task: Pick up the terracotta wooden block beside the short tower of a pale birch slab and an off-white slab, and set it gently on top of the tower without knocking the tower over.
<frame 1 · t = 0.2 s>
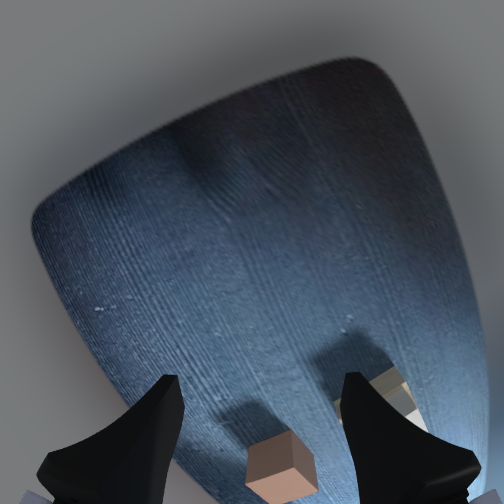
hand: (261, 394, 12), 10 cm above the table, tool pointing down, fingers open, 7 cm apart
terracotta block: (281, 451, 25), on the table
tower top slab: (386, 421, 21), point 3 cm above the table, touching tower base slab
tower base slab: (375, 403, 24), on the table, touching tower top slab
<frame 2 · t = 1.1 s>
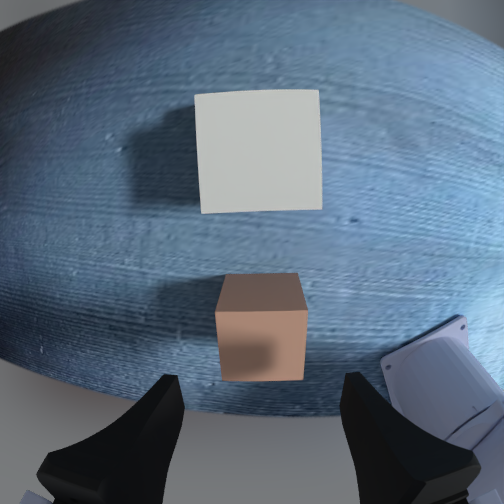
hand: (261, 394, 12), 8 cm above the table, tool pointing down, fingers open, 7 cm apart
terracotta block: (262, 305, 20), on the table
tower top slab: (259, 150, 15), point 3 cm above the table, touching tower base slab
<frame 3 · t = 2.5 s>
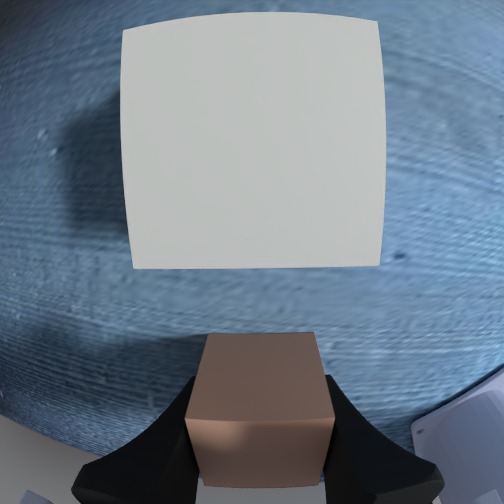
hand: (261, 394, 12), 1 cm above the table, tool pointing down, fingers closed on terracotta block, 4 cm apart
terracotta block: (261, 373, 14), on the table, touching gripper
tower top slab: (255, 141, 8), point 3 cm above the table, touching tower base slab
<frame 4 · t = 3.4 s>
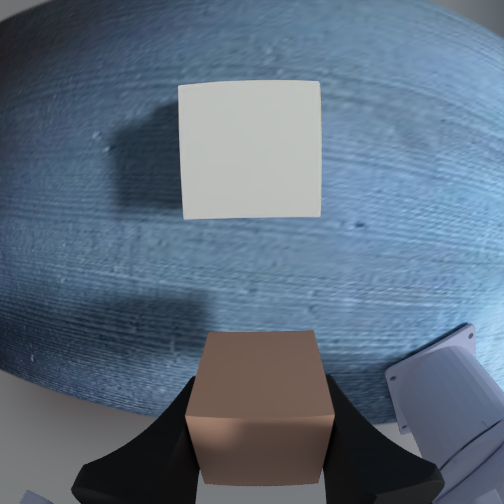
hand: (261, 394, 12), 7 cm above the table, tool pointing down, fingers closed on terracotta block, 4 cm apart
terracotta block: (261, 372, 14), point 5 cm above the table, touching gripper
tower top slab: (251, 149, 13), point 3 cm above the table, touching tower base slab
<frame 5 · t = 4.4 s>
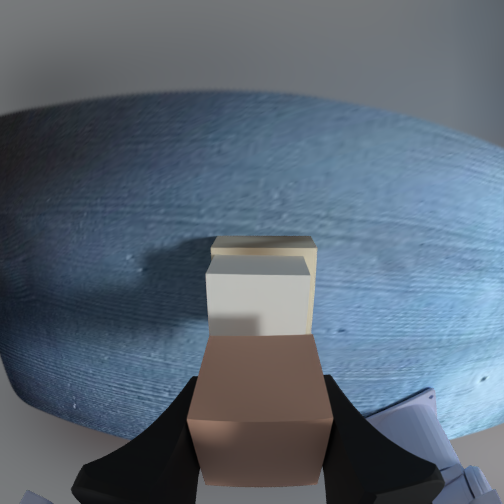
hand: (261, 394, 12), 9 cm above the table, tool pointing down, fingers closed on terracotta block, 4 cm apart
terracotta block: (261, 374, 14), point 8 cm above the table, touching gripper
tower top slab: (258, 295, 18), point 3 cm above the table, touching tower base slab
tower base slab: (263, 277, 21), on the table, touching tower top slab
when the fingers open (8 cm above the table, at t = 5.4 s): terracotta block drops 1 cm, resting on tower top slab.
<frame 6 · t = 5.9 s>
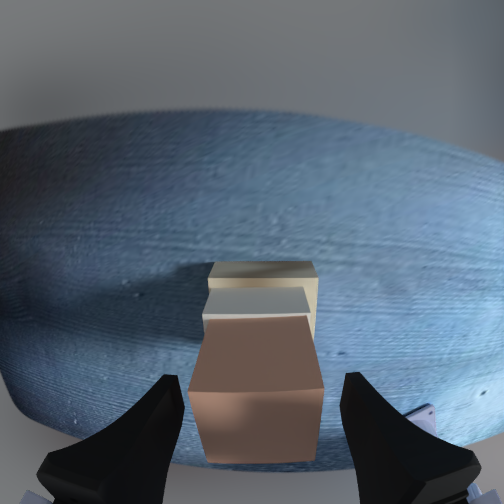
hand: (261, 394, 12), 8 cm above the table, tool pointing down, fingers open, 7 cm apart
terracotta block: (260, 356, 15), point 6 cm above the table, touching tower top slab
tower top slab: (258, 326, 18), point 3 cm above the table, touching terracotta block, tower base slab
tower base slab: (263, 302, 20), on the table, touching tower top slab
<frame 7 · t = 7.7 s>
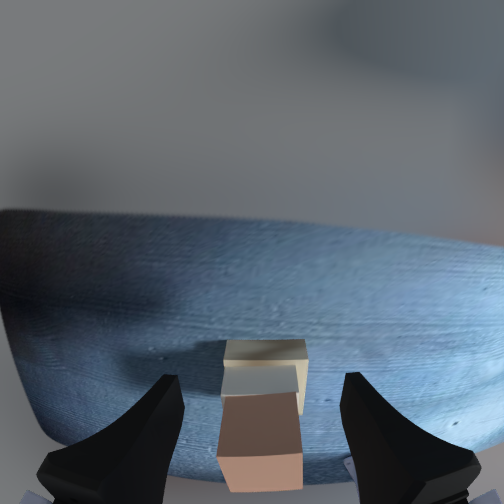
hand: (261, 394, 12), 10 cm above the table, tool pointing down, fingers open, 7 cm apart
terracotta block: (263, 416, 19), point 6 cm above the table, touching tower top slab
tower top slab: (261, 390, 22), point 3 cm above the table, touching terracotta block, tower base slab
tower base slab: (265, 366, 25), on the table, touching tower top slab
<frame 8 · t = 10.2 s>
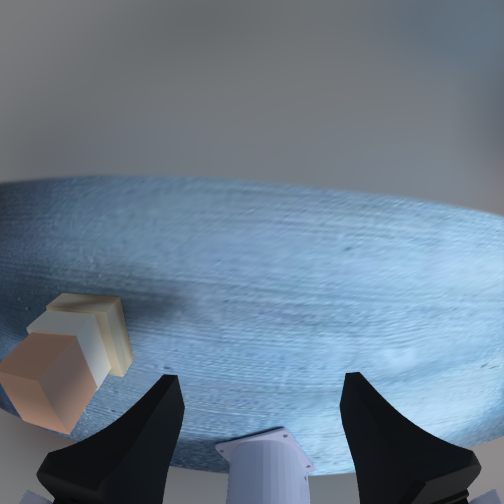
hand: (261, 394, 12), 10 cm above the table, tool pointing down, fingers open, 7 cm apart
terracotta block: (63, 360, 18), point 6 cm above the table, touching tower top slab
tower top slab: (77, 339, 21), point 3 cm above the table, touching terracotta block, tower base slab
tower base slab: (98, 324, 24), on the table, touching tower top slab
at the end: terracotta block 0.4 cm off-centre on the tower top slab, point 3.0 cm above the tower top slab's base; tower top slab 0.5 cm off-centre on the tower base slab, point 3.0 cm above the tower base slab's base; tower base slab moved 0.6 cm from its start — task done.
